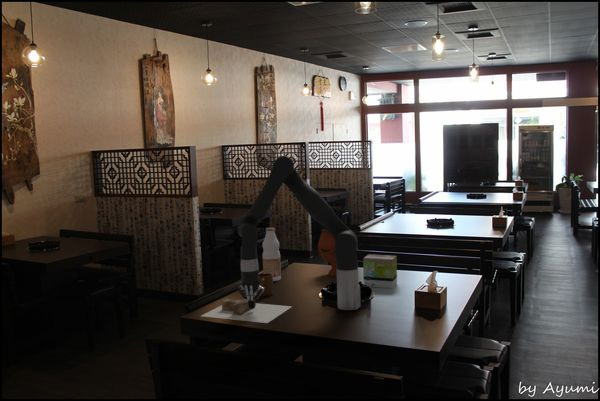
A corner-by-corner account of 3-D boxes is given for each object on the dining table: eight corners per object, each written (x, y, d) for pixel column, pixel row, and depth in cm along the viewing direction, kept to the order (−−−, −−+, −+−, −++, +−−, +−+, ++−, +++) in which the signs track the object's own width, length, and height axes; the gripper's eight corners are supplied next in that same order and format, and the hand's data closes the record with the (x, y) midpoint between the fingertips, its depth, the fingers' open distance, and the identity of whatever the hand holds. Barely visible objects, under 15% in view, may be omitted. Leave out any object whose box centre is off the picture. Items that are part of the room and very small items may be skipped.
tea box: (363, 287, 268) (362, 257, 266) (368, 282, 277) (367, 253, 276) (393, 288, 262) (392, 258, 261) (397, 283, 271) (396, 254, 270)
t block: (254, 307, 239) (254, 298, 238) (241, 315, 228) (240, 305, 227) (231, 305, 244) (231, 296, 243) (217, 312, 233) (216, 303, 232)
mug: (270, 298, 253) (270, 279, 252) (254, 298, 253) (254, 279, 252) (274, 292, 265) (273, 273, 264) (259, 292, 265) (258, 273, 264)
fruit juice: (265, 282, 285) (262, 230, 283) (262, 278, 294) (260, 227, 292) (282, 280, 287) (280, 228, 285) (279, 277, 296) (277, 226, 294)
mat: (292, 306, 238) (292, 306, 238) (267, 323, 216) (267, 322, 216) (229, 301, 251) (229, 300, 251) (200, 316, 229) (200, 316, 229)
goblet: (360, 272, 299) (359, 228, 297) (339, 279, 285) (338, 233, 282) (333, 268, 312) (331, 226, 309) (312, 275, 297) (310, 230, 295)
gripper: (267, 267, 231) (269, 307, 233) (240, 266, 237) (243, 305, 238) (259, 271, 224) (261, 312, 226) (231, 270, 230) (234, 310, 231)
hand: (252, 308), depth 232 cm, fingers closed
